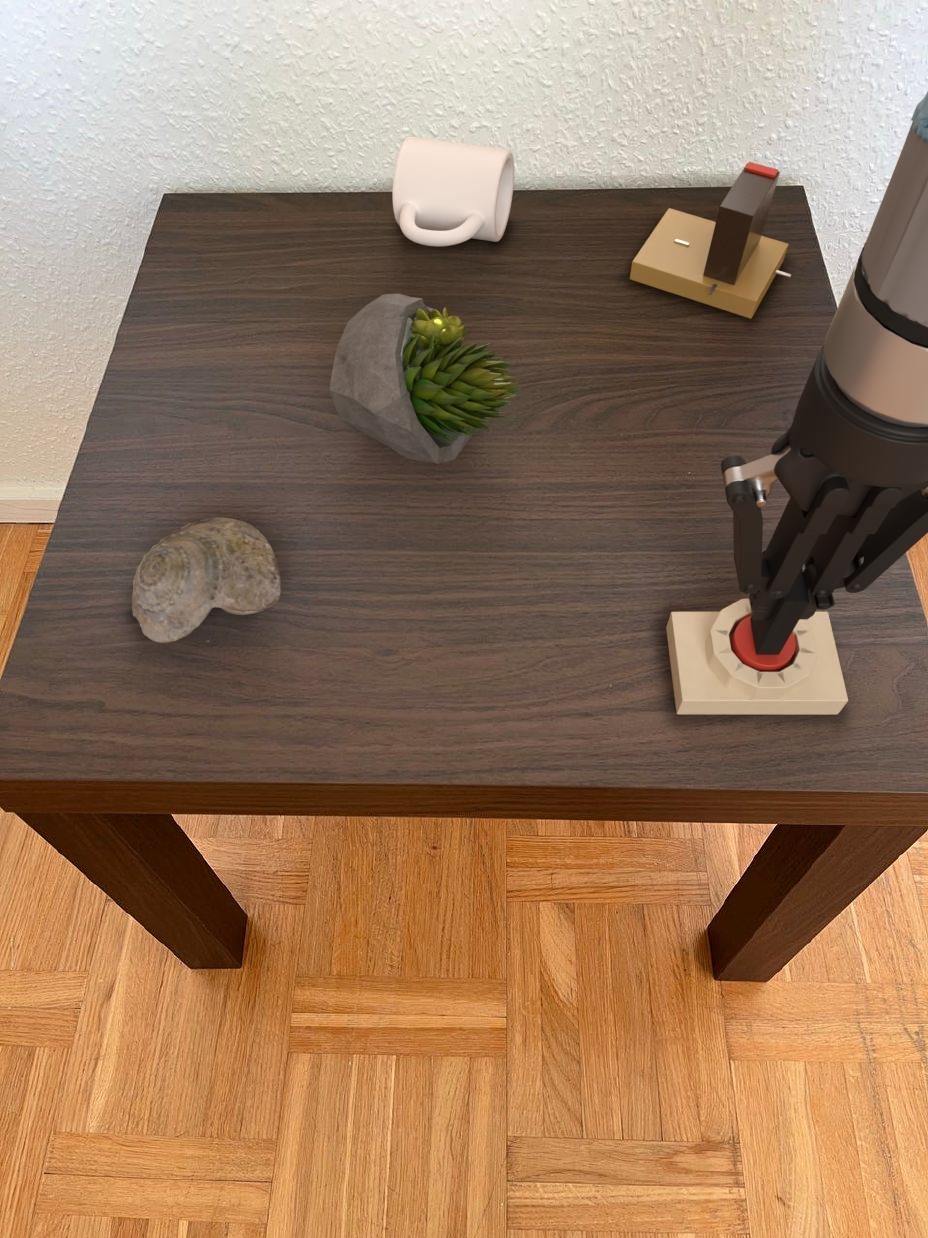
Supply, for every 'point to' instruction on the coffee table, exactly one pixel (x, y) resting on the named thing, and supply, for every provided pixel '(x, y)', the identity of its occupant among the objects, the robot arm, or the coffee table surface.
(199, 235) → the coffee table surface
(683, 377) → the coffee table surface
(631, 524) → the coffee table surface
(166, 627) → the fossilized seashell
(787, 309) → the coffee table surface
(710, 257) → the lock turn
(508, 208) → the mug
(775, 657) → the bell button
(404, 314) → the potted plant
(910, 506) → the robot arm
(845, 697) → the beige button housing
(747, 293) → the plate
